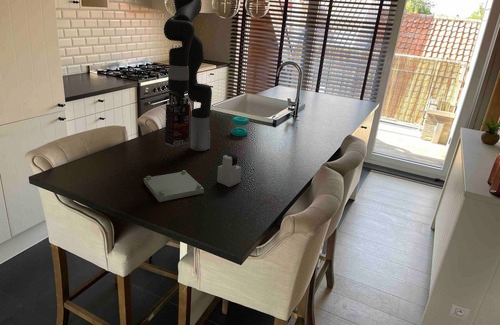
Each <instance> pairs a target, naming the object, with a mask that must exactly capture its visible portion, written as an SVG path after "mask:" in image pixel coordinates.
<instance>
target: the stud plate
mask: <svg viewBox="0 0 500 325" xmlns="http://www.w3.org/2000/svg"><path fill="white" fill-rule="evenodd" d="M143 183H144V185H145V186H146V187H147V188H148V189H149V191H150V192H151V194H152V195H153V196H154V197H155V199H156V200H157V201H158V202H159V203H162V202H166V201H171V200H177V199H180V198H185V197H186V198H187V197H191V196H196V195H201V194H204V193H205V188H204V187H203V186H202V185H201V184H200V183H199V182H198V181H197V180H196V179H194V178H193V177H192V175H190V174H189V173H188V172H187V170H185V169H183V170H181V171H180V172H178V171H177V172H174V173H168V174H167V173H166V174H162V175H161V174H160V175H154V176H151V175H146V177H144V178H143Z"/></svg>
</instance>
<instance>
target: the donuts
mask: <svg viewBox="0 0 500 325" xmlns="http://www.w3.org/2000/svg"><path fill="white" fill-rule="evenodd" d="M231 122H232V123H233V124H234V125H236V126H246V125H248V124H249V123H250V119H249V118H247V117H245V116H234V117H232V118H231ZM230 134H232V136H235V137H240V138H241V137H246V136H248V135H249V131H248V130H247V128H244V127H234V128H232V129H231V132H230Z"/></svg>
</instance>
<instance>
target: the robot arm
mask: <svg viewBox="0 0 500 325" xmlns="http://www.w3.org/2000/svg"><path fill="white" fill-rule="evenodd" d="M173 2H174V4H173V5H174V9H175V13H174V15H173V16H171V17H169V18H168V19H167V20H166V21H165V23H164V27H163V34H164V36H165V38H166V39H167V40H169V41H173V42H181V46H180V47H179V46H178V47H172V48H170V49H169V50H168V70H167V77H168V78H167V82H168V83H167V89H168V91H169V92H168V102H169V103H168V104H175V105H176V106H177V108H178V124H184V114H187V108H188V104H189V101H191V102H193V103H198V104H200V106H199V107H195V108H192V109H191V110H190V149H191V150H192V151H196V152H204V151H207V150H210V149H211V130H210V113H211V108H212V97H213V91H212V90H213V89H212V87H211V85H209V84H205V83H199V82H198V71H199V70H200V67H202V66H201V65H202V64H203V62H204V59H205V55H204V54H205V53H204V47H203V42H202V40H201V39H200V37H199V36H198V34H197V33H196V32H195V27H194V24H193V21H194V20H195V18H196V17H197V16H198V15H199V13H200V12H201V10H202V6H203V5H202V0H173ZM185 92H187V96H188V98H186V97H185V96H186V95H185ZM178 105H180V106H178ZM182 110H183V111H182Z"/></svg>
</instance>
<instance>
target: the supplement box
mask: <svg viewBox="0 0 500 325" xmlns="http://www.w3.org/2000/svg"><path fill="white" fill-rule="evenodd" d="M178 106H180V105H178ZM190 108H191V104H189V103H188V108H187V114H184V124H178V108H177V106H176V105H175V104H169V103H166V104H165V126H164V128H165V132H164V133H165V134H164V136H165V138H164V141H165V142H164V144H165V145H166V146H168V147H171V148H174V147H177V146H183V145H186V144H189V143H190V142H189V141H190V119H191V110H190ZM182 111H183V110H182Z"/></svg>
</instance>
